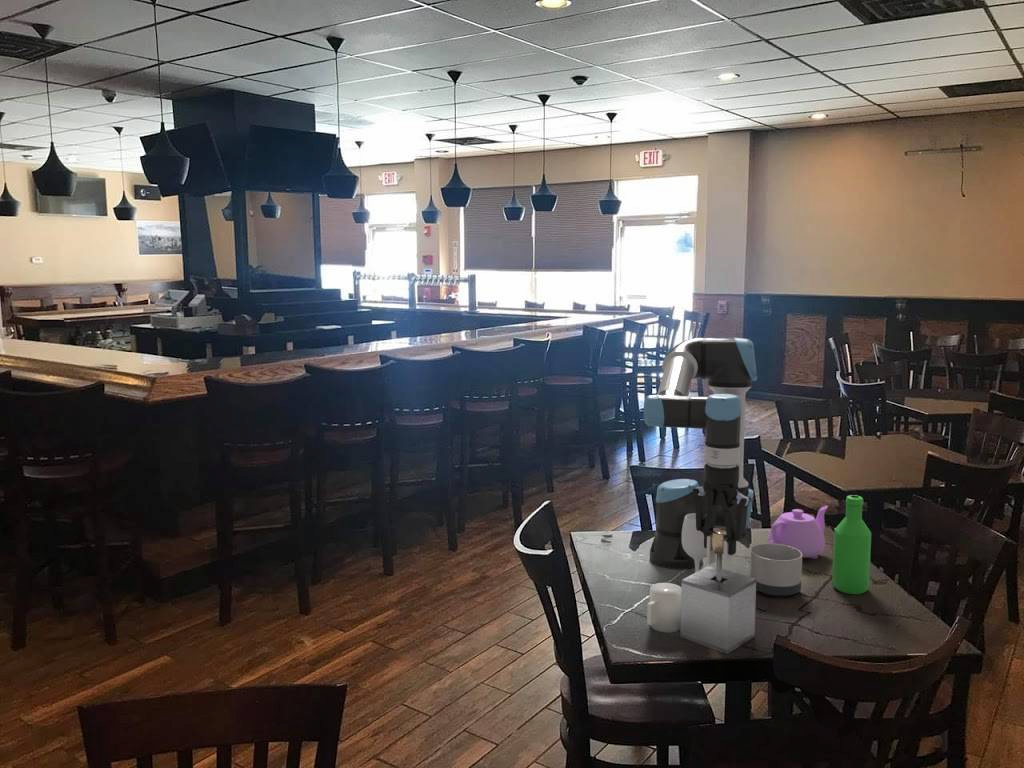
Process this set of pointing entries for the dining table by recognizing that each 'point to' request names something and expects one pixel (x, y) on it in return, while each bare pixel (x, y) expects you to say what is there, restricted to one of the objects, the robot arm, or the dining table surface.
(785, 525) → the teapot
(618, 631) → the dining table surface
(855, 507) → the bottle
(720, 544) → the plunger
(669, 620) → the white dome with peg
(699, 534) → the wineglass
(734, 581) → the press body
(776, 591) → the planter
